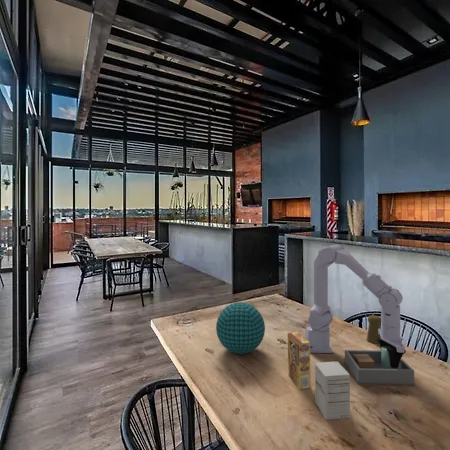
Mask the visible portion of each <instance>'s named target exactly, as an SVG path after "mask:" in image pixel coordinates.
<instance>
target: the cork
mask: <svg viewBox="0 0 450 450" xmlns="http://www.w3.org/2000/svg"><path fill="white" fill-rule="evenodd" d="M367 322H368V330H367V336H366V341H367V342H368V343H370V344H375V345H379V343H378V341H377V337H380V335H379V334H378V329H381V317H380V316H379V315H376V314H375V315H374V314H373V315H372V314H371V315H368V317H367Z"/></svg>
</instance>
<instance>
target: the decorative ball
mask: <svg viewBox="0 0 450 450" xmlns="http://www.w3.org/2000/svg"><path fill="white" fill-rule="evenodd" d="M265 324H266V323H265V319H264V318H263V315H262V314H261V312H260V311H259V310H258V308H257V307H256V306H253V305H252V304H250V303H247V302H244V301H243V302H241V301H239V302H238V301H237V302H234V303H230V304H229V305H226V306H225V307H224V308H223V309H222V310H221V312H220V313H219V315H218V316H217V320H216V325H215V327H216V328H215V330H216V335H217V338H218V341H219V342H220V344H221V345H222V346H223V348H225V349H226V350H227V351H229V352H231V353H234V354H239V355H240V354H241V355H243V354H248V353H250V352H253V351H254V350H255V349H257V348H258V347H259V346H260V345H261V343H262V341H263V339H264V336H265V333H266V325H265Z"/></svg>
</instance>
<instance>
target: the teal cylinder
mask: <svg viewBox="0 0 450 450" xmlns="http://www.w3.org/2000/svg"><path fill="white" fill-rule="evenodd" d="M389 347H390V346H389ZM380 351H381V368H382V369H398V368H392V367H391V366H390V360H389V354H388V351H387V349H386V346H383V347H382V348H380Z"/></svg>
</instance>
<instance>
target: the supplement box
mask: <svg viewBox="0 0 450 450" xmlns="http://www.w3.org/2000/svg"><path fill="white" fill-rule="evenodd" d="M314 365H315V367H314V369H315V370H314V371H315V372H314V373H315V375H314V377H315V378H314V379H315V380H314V381H315V382H314V385H315V389H314V395H315V396H314V397H315V399H314V400H315V403H314V404H316V406H317V407H318V409H319V411H320V412H321V414H322V416H323V417H324V420H328V421H329V420H339V419H340V420H341V419H349V418H350V417H351V375H350V373H349V371H347V370H346V369H345V367H344V366H342V365H341V363H340V362H339V361H325V362H316V363H314Z"/></svg>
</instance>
